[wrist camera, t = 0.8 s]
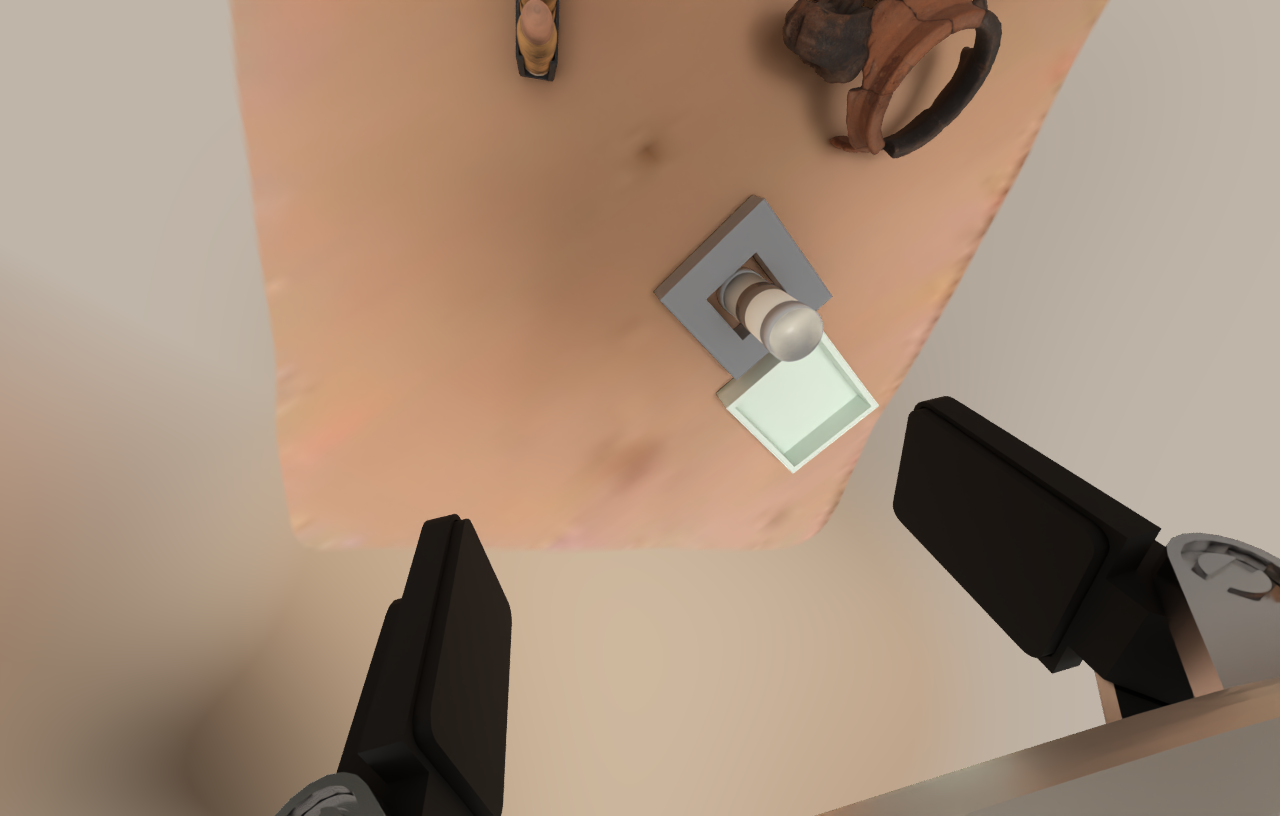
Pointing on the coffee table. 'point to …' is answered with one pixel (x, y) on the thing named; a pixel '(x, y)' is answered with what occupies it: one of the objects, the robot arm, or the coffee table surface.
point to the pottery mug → (891, 60)
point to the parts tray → (798, 402)
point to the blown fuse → (771, 315)
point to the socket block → (721, 258)
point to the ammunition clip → (537, 38)
